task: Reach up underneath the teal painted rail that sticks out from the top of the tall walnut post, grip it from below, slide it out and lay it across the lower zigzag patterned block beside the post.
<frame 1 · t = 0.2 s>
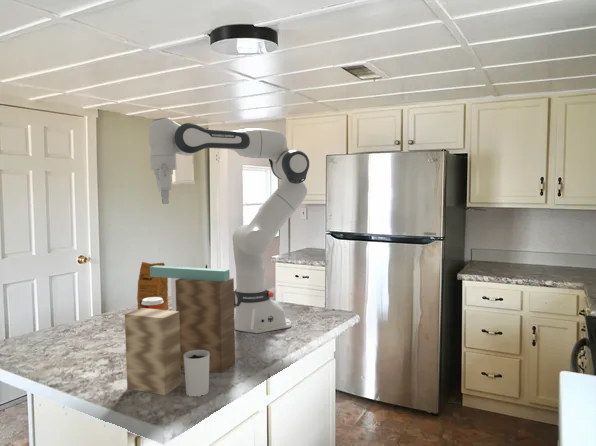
hand: (165, 204, 161), 48 cm above the counter, tool pointing down, fingers open, 8 cm apart
post: (206, 364, 136), on the counter
skincare box: (218, 299, 220), on the counter
zigzag patterned block: (154, 386, 121), on the counter
rail: (189, 278, 137), point 26 cm above the counter, touching post
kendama: (207, 309, 202), on the counter
white coffee cup: (197, 392, 118), on the counter
milk: (182, 319, 186), on the counter
coffee package: (152, 312, 197), on the counter
paper cup: (153, 337, 163), on the counter
stone mortar: (239, 302, 214), on the counter
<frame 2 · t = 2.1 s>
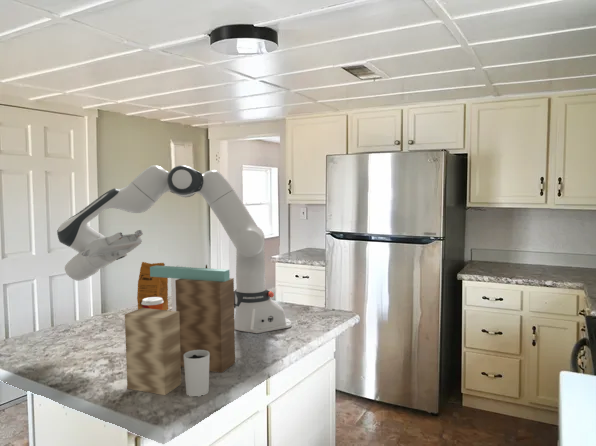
hand: (131, 233, 149), 39 cm above the counter, tool pointing upward, fingers open, 8 cm apart
nothing on the counter moved.
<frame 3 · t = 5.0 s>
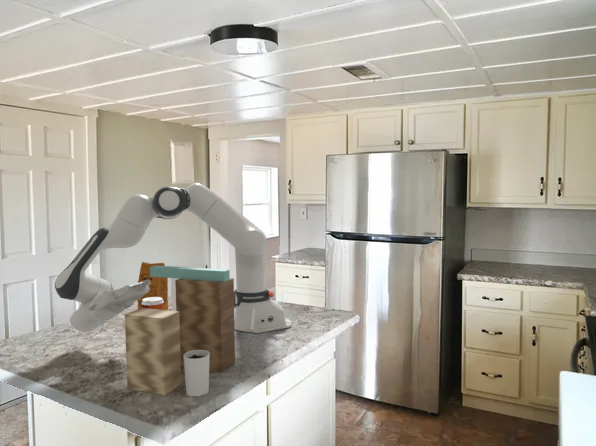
hand: (138, 284, 143), 23 cm above the counter, tool pointing upward, fingers open, 8 cm apart
nothing on the counter moved.
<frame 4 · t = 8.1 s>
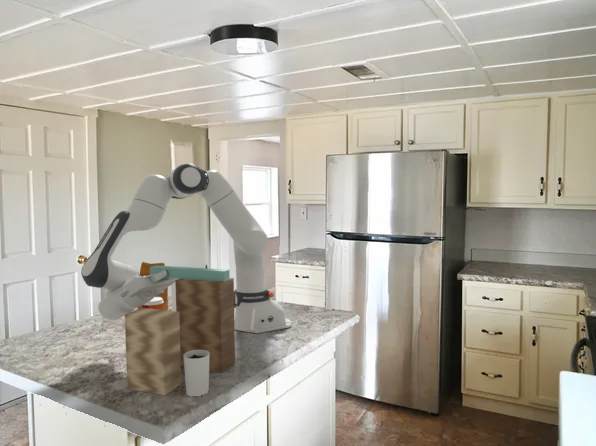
hand: (171, 270, 139), 28 cm above the counter, tool pointing upward, fingers closed on rail, 3 cm apart
rail: (189, 278, 137), point 26 cm above the counter, touching gripper, post
everything else where it was.
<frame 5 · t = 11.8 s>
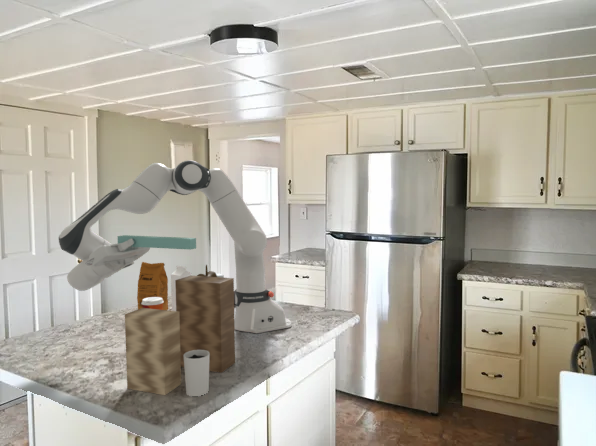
hand: (138, 239, 137), 38 cm above the counter, tool pointing upward, fingers closed on rail, 3 cm apart
rail: (156, 247, 135), point 36 cm above the counter, touching gripper
everything else where it was.
when the fingers open (23 cm above the counter, at t = 15.6 s): rail drops 1 cm, resting on zigzag patterned block.
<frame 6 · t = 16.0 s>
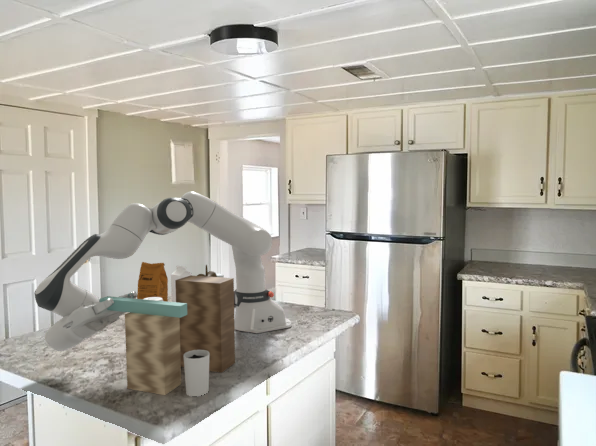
hand: (123, 297, 123), 23 cm above the counter, tool pointing upward, fingers open, 8 cm apart
rail: (142, 311, 121), point 20 cm above the counter, touching zigzag patterned block
everything else where it was.
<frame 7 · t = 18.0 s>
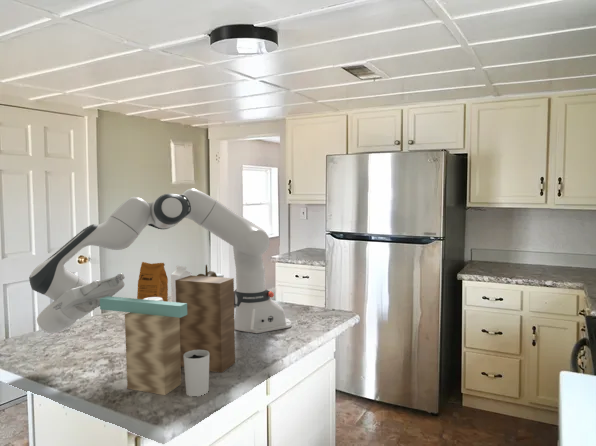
hand: (110, 279, 129), 27 cm above the counter, tool pointing upward, fingers open, 8 cm apart
nothing on the counter moved.
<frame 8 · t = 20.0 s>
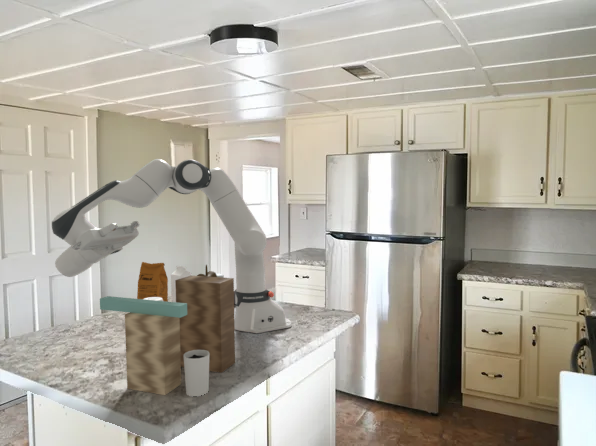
hand: (126, 224, 136), 42 cm above the counter, tool pointing upward, fingers open, 8 cm apart
nothing on the counter moved.
at the end: rail inside the target area (3.0 cm from its centre), point 20.0 cm above the counter; the gripper is holding nothing; rail touching zigzag patterned block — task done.
